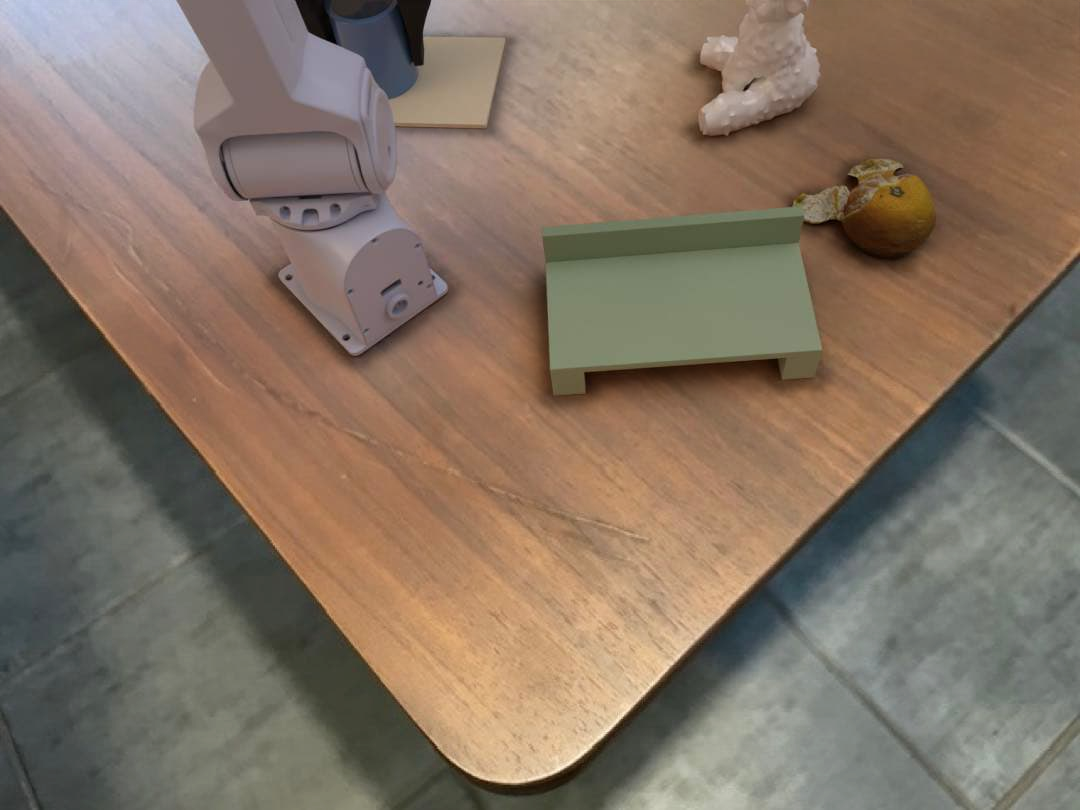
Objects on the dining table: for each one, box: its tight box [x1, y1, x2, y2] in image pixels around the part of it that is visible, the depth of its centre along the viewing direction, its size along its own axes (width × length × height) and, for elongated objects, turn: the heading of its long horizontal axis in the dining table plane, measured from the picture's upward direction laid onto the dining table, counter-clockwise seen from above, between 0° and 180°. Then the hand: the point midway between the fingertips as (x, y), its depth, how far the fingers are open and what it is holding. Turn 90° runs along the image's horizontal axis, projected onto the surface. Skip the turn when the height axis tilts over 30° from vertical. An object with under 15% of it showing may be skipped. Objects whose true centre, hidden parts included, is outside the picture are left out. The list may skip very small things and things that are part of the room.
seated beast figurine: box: [697, 0, 822, 137], centre depth 67 cm, size 10×9×12 cm
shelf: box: [541, 206, 823, 397], centre depth 59 cm, size 9×16×6 cm, turn 92°
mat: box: [389, 36, 507, 129], centre depth 76 cm, size 18×10×1 cm, turn 83°
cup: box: [325, 0, 419, 100], centre depth 73 cm, size 6×6×7 cm
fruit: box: [791, 158, 937, 259], centre depth 63 cm, size 8×8×4 cm
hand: (379, 61), depth 75 cm, fingers closed on cup, 6 cm apart
